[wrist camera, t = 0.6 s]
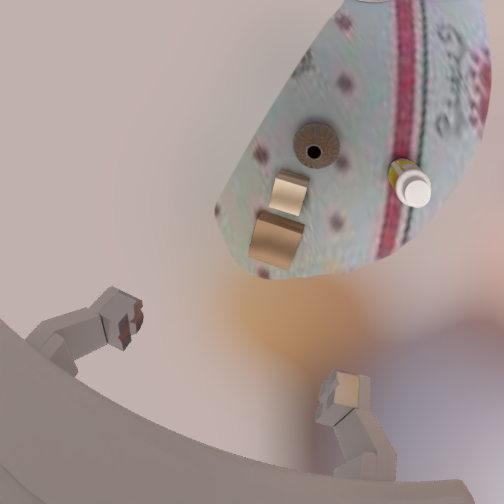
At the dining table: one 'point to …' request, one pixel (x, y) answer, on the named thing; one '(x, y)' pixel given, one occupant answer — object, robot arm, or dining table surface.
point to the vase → (316, 145)
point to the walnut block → (275, 240)
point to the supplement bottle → (409, 183)
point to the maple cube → (288, 192)
